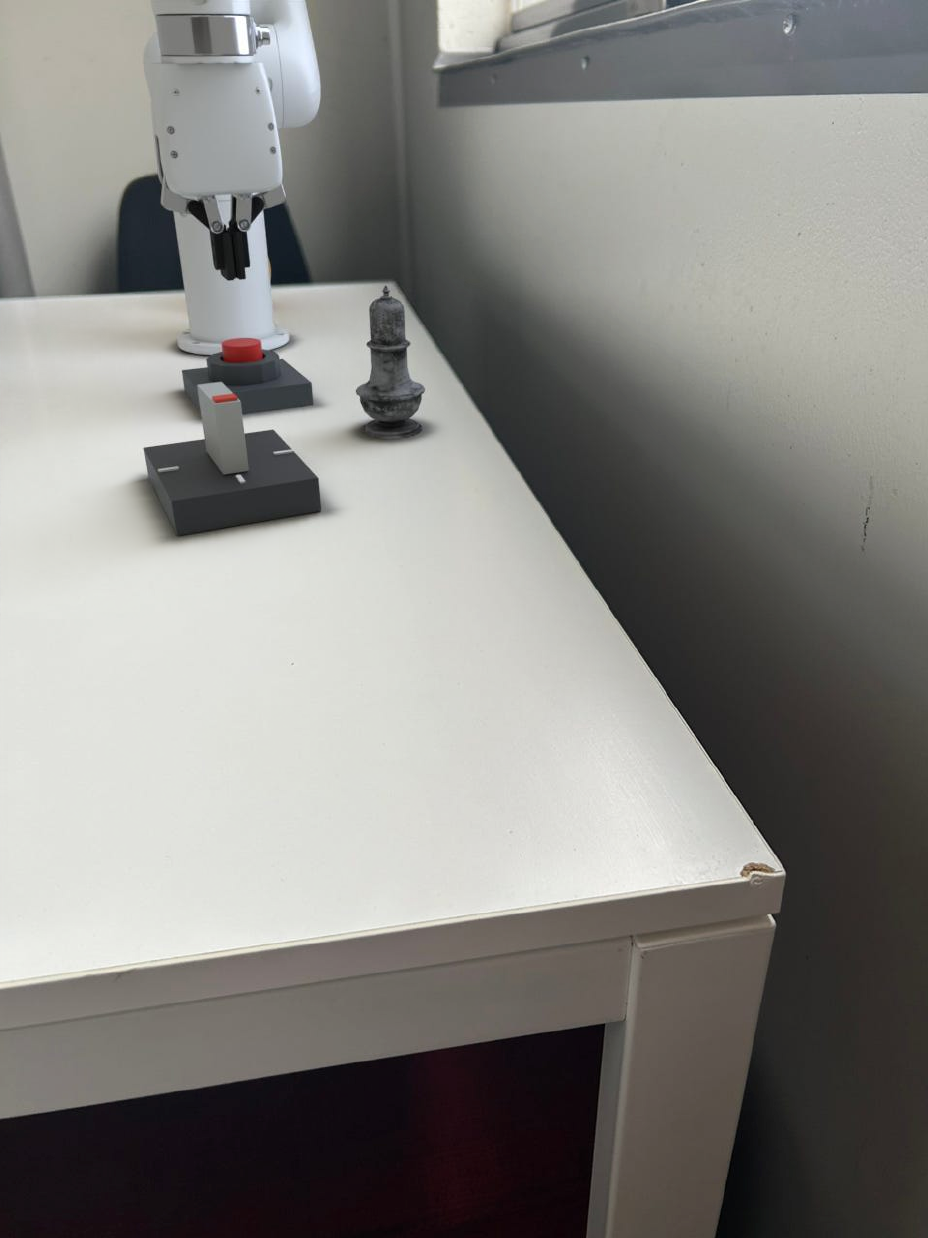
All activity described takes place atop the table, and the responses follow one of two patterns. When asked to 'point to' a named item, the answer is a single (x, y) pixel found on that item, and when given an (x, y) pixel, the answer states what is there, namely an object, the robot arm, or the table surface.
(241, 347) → the stop button
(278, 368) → the stop housing
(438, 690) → the table surface
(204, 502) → the dark grey base block
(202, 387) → the timer knob
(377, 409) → the salt shaker
